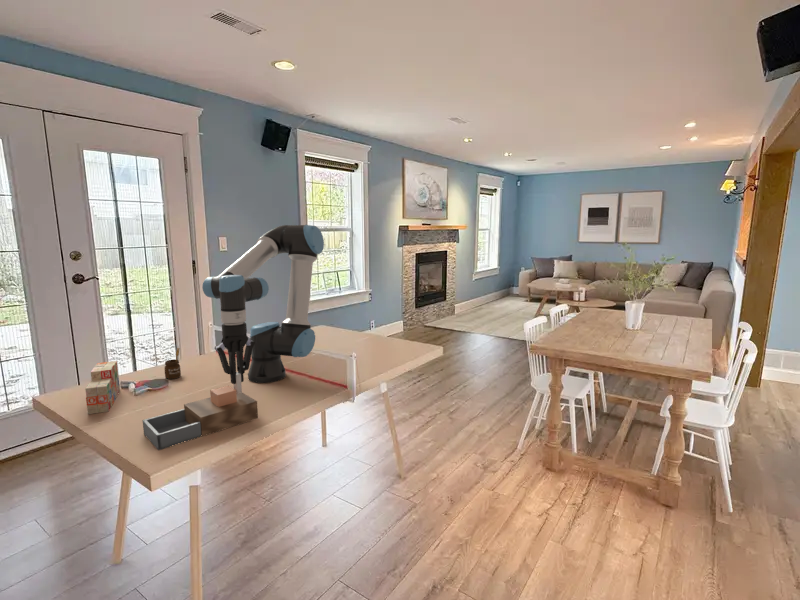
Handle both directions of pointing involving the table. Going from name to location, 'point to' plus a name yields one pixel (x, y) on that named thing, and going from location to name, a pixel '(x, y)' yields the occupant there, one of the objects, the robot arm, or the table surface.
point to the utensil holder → (172, 367)
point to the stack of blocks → (102, 387)
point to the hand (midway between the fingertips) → (237, 392)
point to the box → (170, 429)
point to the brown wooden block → (221, 413)
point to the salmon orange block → (223, 396)
